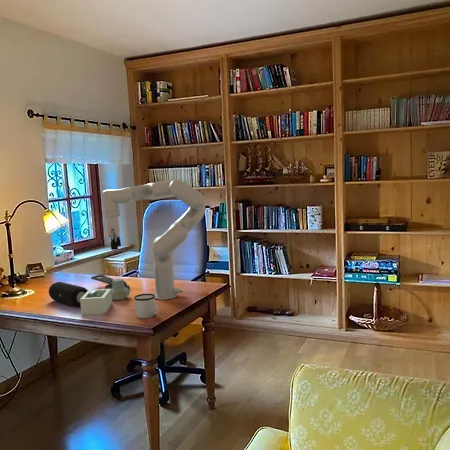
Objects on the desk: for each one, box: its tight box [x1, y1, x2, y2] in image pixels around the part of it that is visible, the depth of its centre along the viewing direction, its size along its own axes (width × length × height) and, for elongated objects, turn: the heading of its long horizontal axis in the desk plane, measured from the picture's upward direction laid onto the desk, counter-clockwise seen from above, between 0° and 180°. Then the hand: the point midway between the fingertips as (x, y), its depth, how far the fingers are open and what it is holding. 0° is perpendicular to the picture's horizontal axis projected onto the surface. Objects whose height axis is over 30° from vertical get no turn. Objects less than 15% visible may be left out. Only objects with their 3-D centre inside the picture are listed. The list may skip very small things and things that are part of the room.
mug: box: [133, 293, 159, 319], centre depth 214 cm, size 12×10×9 cm
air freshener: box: [111, 278, 131, 301], centre depth 245 cm, size 11×8×10 cm
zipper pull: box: [90, 274, 131, 291], centre depth 267 cm, size 9×7×25 cm
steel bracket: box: [89, 289, 97, 298], centre depth 227 cm, size 5×5×8 cm
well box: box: [80, 288, 113, 317], centre depth 227 cm, size 11×16×8 cm
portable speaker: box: [48, 281, 88, 308], centre depth 241 cm, size 26×10×10 cm, turn 49°
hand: (116, 247), depth 239 cm, fingers open, 9 cm apart
